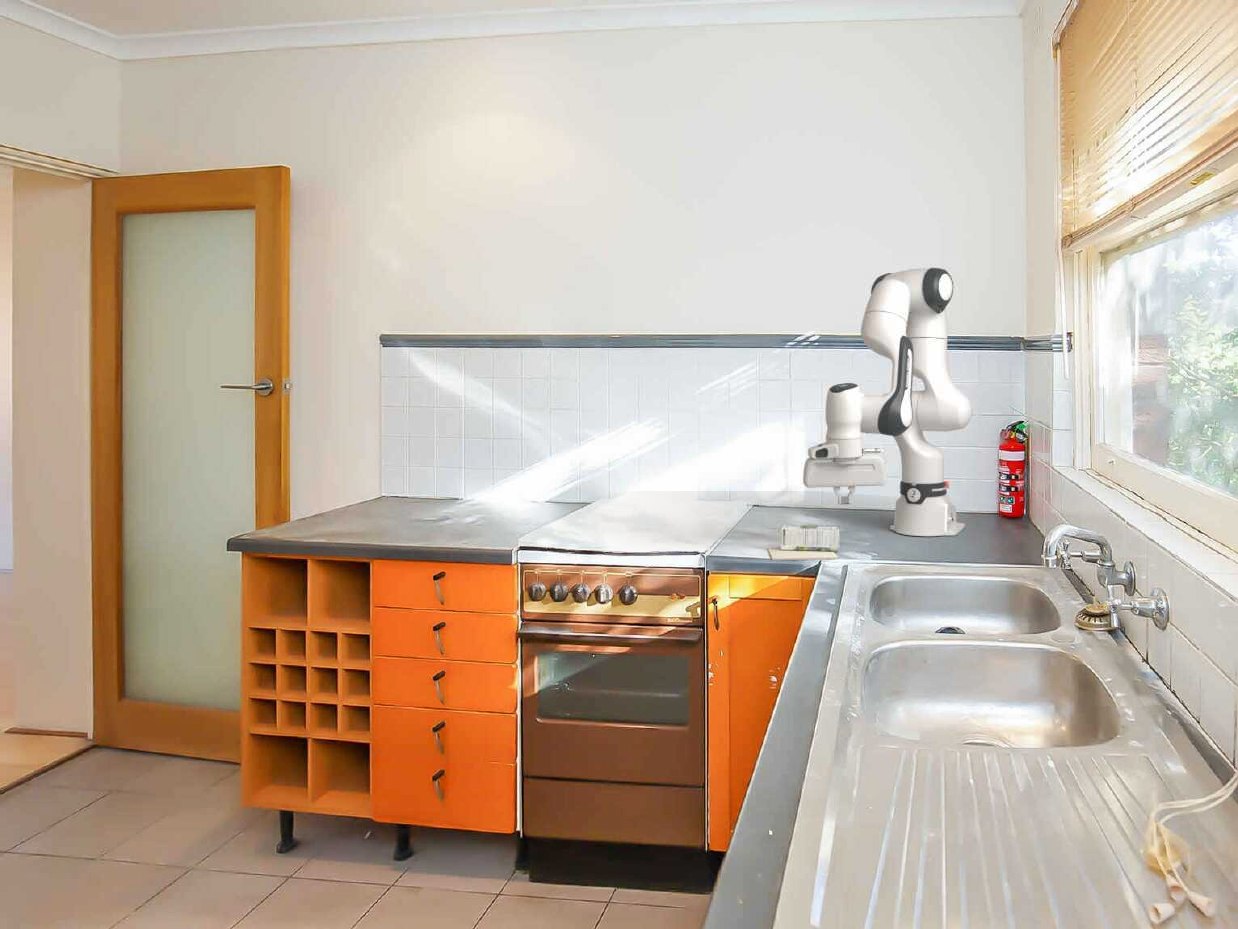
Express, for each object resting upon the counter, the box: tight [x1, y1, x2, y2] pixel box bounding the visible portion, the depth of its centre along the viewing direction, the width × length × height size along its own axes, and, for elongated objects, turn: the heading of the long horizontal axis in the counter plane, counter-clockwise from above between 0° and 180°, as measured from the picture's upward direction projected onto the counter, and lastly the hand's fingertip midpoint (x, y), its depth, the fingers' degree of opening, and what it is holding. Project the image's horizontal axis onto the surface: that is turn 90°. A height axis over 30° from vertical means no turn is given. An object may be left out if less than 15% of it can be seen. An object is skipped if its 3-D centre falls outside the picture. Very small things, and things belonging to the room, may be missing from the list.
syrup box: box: [779, 524, 840, 553], centre depth 270 cm, size 6×6×14 cm
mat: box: [767, 546, 839, 561], centre depth 267 cm, size 16×14×1 cm
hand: (844, 504), depth 265 cm, fingers closed
